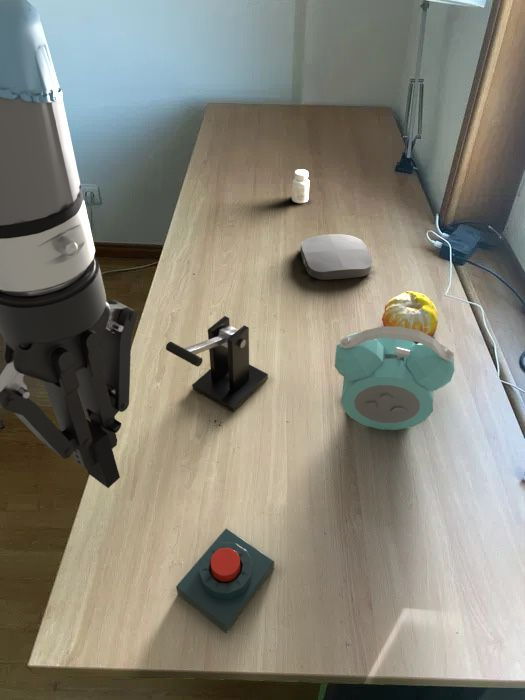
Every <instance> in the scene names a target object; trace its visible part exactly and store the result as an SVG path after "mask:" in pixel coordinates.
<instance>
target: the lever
mask: <svg viewBox="0 0 525 700" xmlns="http://www.w3.org/2000/svg"><path fill="white" fill-rule="evenodd" d="M238 330H239V329H238V328H235V327H233V326H231V325H230V326H228V327H226V328H223V329H220V330H219V335H218V336H217V337H214V338H212V339H209V340H208V339H207V340H204V341H201V342H199V343H195V344H193V345H190V346H188V347H186V348H184V347H183V346H180V345H178V344H176V342H173V341H168V342H167V344H166V345H165V350H166V351H167V352H169V353H171V354H173V355H174V356H177V357H178V358H180V359H182V360H183V361H186V362H188V363H189V364H191V365H193V366H195V367H196V368H198V367H200V366H201V365H202V364H203V358H202V357H201V356H199V355H198V354H200V353H203V352H206V351H209V349H211V348H214V347H216V346H219V345H223V346H225V347H226V348H228V346H227V339H228V338H229V337H231V336H232V335H233V334H234V333H235V332H237V331H238Z"/></svg>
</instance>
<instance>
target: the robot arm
mask: <svg viewBox="0 0 525 700" xmlns="http://www.w3.org/2000/svg"><path fill="white" fill-rule="evenodd" d="M51 55H52V54H51V51H50V48H49V44H48V41H47V37H46V34H45V30H44V25H43V22H42V19H41V16H40V14H39V12H38V10H37V8H36V7H34V5H32V4H31V3H30V2H29V1H28V0H0V334H1V336H2V338H3V340H4V342H3V343H4V346H3V347H4V348H3V353H2V354H3V355H2V357H3V360H4V362H5V363H6V366H5V367H4V369H3V370H2V372H1V373H0V408H2V409H3V410H4V411H7V412H10V413H13V414H14V415H15V416H16V417H17V418H18V419H19V420H20V421H21V422H22V423H23V424H24V425H25V426H26V427H27V429H29V431H31V433H32V434H34V435H35V437H36V438H37V439H38V440H39V441H40V442H41V443H42V444H43V445H45V446H46V447H47V448H48V449H50V450H51V451H53V452H54V453H55V454H57V455H58V456H59V457H61V458H62V459H68V458H70V457H71V456H72V457H73V460H74V462H76V463H77V464H79V465H80V466H81V467H83V468H84V469H86V471H87V474H88V475H89V476H91V477H92V478H94V479H95V480H96V481H97V482H99V483H100V484H101V485H103V487H106V488H107V489H109V488H110V487H111V486H113V485H114V484H115V483H116V482H117V481H118V480H119V479H120V478H121V475H120V473H119V468H118V465H117V461H116V458H115V454H114V451H113V449H114V448H115V447H117V446H118V445H117V444H118V437H117V434H116V433H118V432H119V431H120V429H121V427H122V422H120V421H119V420H117V419H116V415H117V414H118V413H119V412H120V413H123V412H126V410H127V409H128V408H129V405H130V390H131V389H130V388H131V356H132V354H131V351H132V335H133V331H134V328H135V324H136V321H137V318H138V312H137V310H134V309H133V308H131V307H129V306H127V305H125V304H123V303H121V302H119V301H117V300H115V299H110V300H108V301H107V294H106V289H105V285H104V281H103V275H102V272H101V271H102V270H101V268H100V263H99V260H98V258H97V257H96V255H95V253H96V248H95V242H94V239H93V233H92V230H91V224H90V220H89V216H88V212H87V207H86V203H85V198H84V195H83V191H82V186H81V180H80V176H79V171H78V166H77V162H76V157H75V153H74V152H75V151H74V148H73V142H72V137H71V132H70V128H69V124H68V119H67V113H66V110H65V109H66V108H65V103H64V100H63V98H64V96H63V89H62V88H61V87H60V83H59V81H58V77H57V74H56V70H55V67H54V66H55V65H54V62H53V59H52V56H51ZM25 376H28V377H30V378H33V379H36V380H40V381H41V382H42V383H43V385H44V387H45V390H46V393H47V396H48V399H49V402H50V404H51V407H52V409H53V412H54V415H55V418H56V421H57V423H58V426H59V427H57V425H55V424H54V422H53V421H52V420H51V419H50V417H49V416H48V415H47V414H46V413H45V412H44V411H43V410H42V408H41V407H40V406H39V405H38V404H37V403H36V402H34V401H33V400H32V399H30V396H31V392H30V391H29V390H28V389H29V388H28V385H27V384H26V383H25V381H24V377H25ZM87 418H88V419H87Z"/></svg>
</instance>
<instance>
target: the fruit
mask: <svg viewBox="0 0 525 700" xmlns="http://www.w3.org/2000/svg"><path fill="white" fill-rule="evenodd" d="M381 322H382V324H383V325H382V326H389V327H404V328H409V329H414V330H419V331H421V332H423V333H425V334H427V335H429V336H431V337H433V336H434V335H435V333H436V331H437V328H438V324H439V316H438V311H437V308H436V306H435V304H434V302H433V301H432V300H431V299H430V298H429V297H427V295H425V294H424V293H419V292H415V291H405V292H402V293H399V295H397V296H394V297H392V298H391V299H389V301H388V302H386V304H385V305H384V312H383V314H382V317H381ZM408 341H409V340H408ZM412 342H414V343H415V344H419V342H415V341H412Z"/></svg>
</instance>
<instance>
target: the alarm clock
mask: <svg viewBox="0 0 525 700" xmlns="http://www.w3.org/2000/svg"><path fill="white" fill-rule="evenodd" d="M408 340H409V341H408ZM412 341H415V342H419V343H414V342H412ZM335 348H336V349H335V357H334V368H335V369H336V371H337V372H338V374H339V375H341V376H342V377H343V380H342V391H341V404H342V409H343V410H344V412H345V413H346V415H347V416H349V418H350V419H352V420H354V421H356V422H357V423H359V424H361V425H362V426H366V427H370V428H373V429H378V430H387V431H399V430H403V429H404V430H405V429H409V428H413V427H415V426H417V425H419V424H421V423H423V422H425V421H426V420H427V419H428V418H429V417H430V416H431V414H432V413H433V411H434V392H435V391H437V390H439V389H441V388H444V387H445V386H446V385H447V384H449V383H450V382H451V381H452V380H453V379H452V378H453V376H454V374H455V353H454V351H453V349H450V348H448V347H446V346H445V345H443V344H441V343H440V342H439V341H438V340H436V339H435V338H434V337H433V336H429V335H427V334H425V333H423V332H421V331H419V330H414V329H409V328H404V327H389V326H384V325H382V326H378V327H373V328H369V329H365V330H363V331H360V332H355V333H352V334H349V335H345V336H344V337H343V338H341V340H340V342H339V343H338V344H337V345H336V347H335Z"/></svg>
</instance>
